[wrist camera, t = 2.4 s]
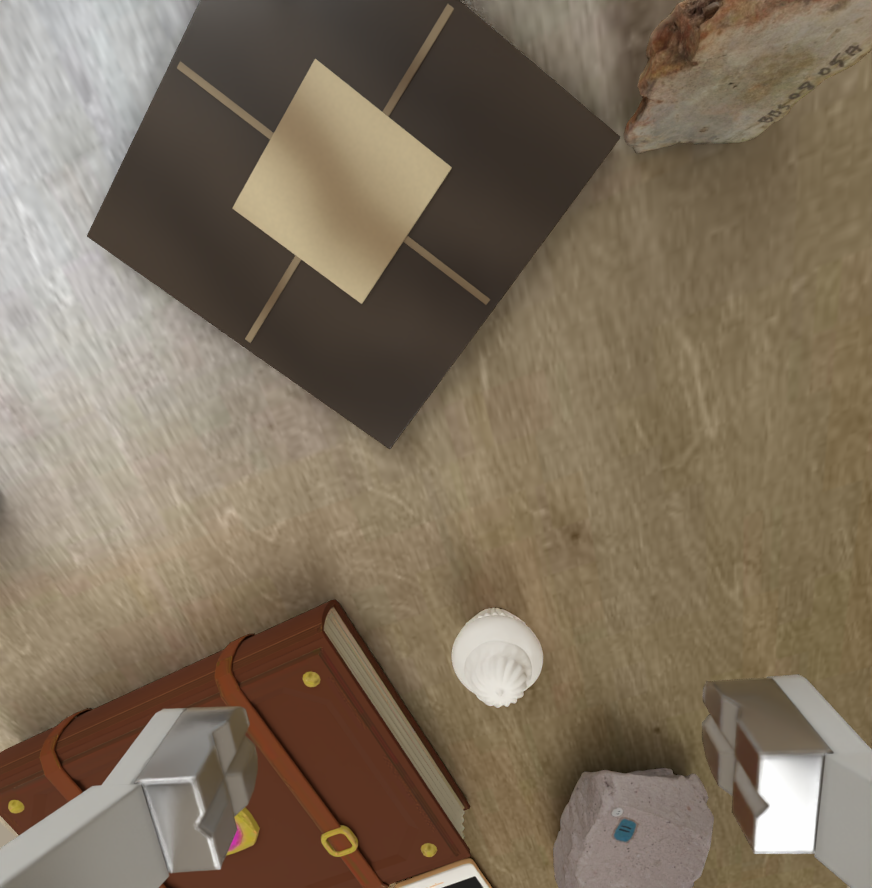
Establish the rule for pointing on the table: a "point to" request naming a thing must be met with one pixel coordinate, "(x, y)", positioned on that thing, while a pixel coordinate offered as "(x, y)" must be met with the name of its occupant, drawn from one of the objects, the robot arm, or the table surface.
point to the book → (278, 762)
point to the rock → (740, 66)
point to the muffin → (497, 657)
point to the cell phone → (449, 877)
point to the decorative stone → (633, 831)
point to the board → (348, 188)
